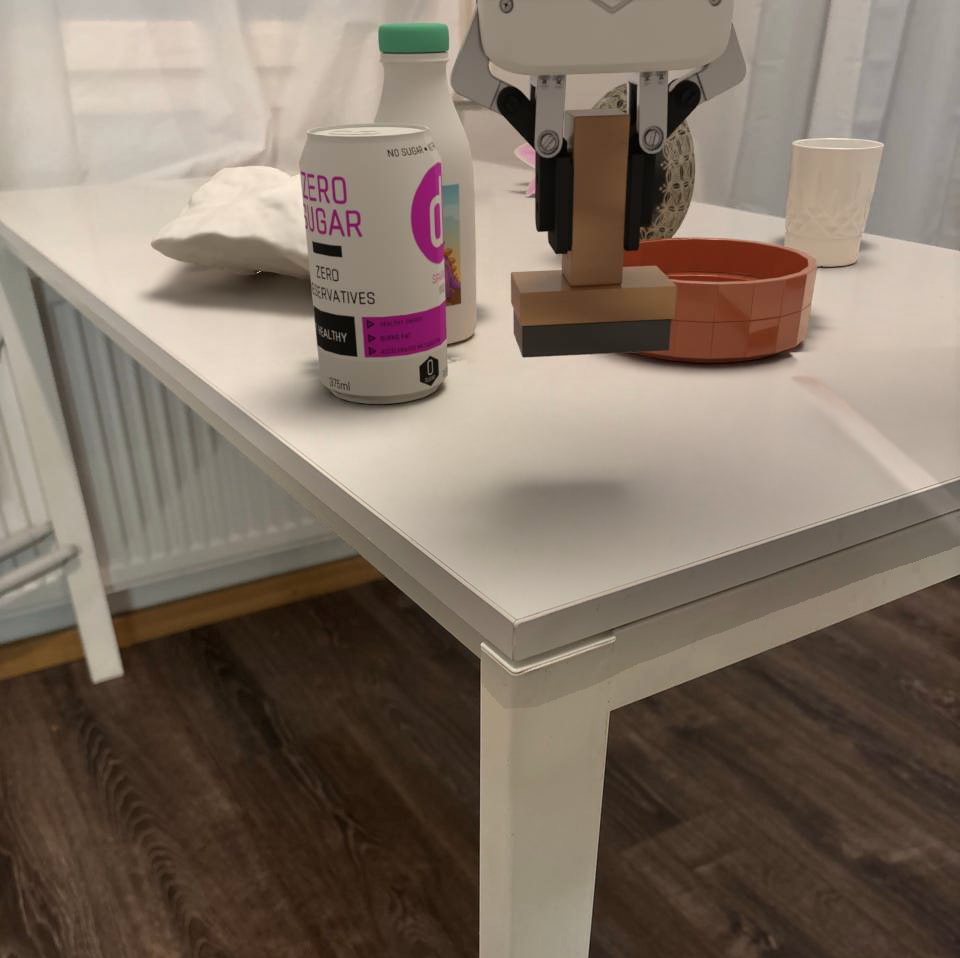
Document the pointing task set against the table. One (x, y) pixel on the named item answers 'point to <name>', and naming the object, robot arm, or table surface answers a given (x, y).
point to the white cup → (830, 197)
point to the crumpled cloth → (242, 224)
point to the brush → (594, 261)
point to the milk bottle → (427, 102)
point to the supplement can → (376, 259)
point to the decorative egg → (664, 173)
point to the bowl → (731, 296)
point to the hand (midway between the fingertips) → (592, 243)
